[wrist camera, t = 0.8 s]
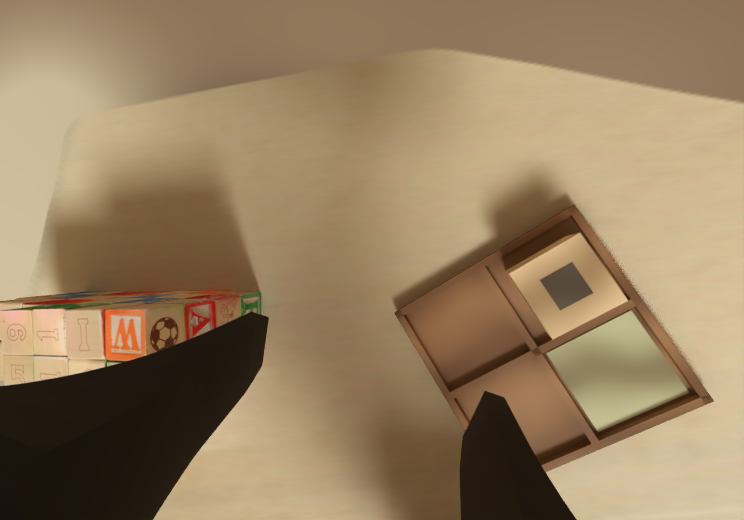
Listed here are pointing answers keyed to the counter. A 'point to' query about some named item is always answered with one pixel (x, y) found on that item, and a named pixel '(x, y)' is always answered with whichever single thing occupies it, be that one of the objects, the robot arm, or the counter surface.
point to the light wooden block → (566, 285)
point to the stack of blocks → (105, 328)
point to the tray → (551, 355)
